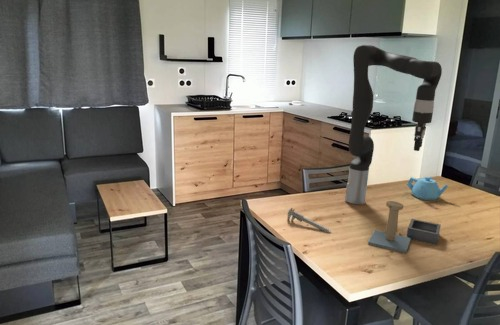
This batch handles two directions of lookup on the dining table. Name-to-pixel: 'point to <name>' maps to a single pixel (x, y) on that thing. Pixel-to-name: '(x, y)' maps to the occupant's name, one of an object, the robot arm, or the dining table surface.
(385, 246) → the rubber mat
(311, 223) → the caliper
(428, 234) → the socket block
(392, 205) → the handle
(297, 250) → the dining table surface
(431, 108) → the robot arm
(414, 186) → the teapot
